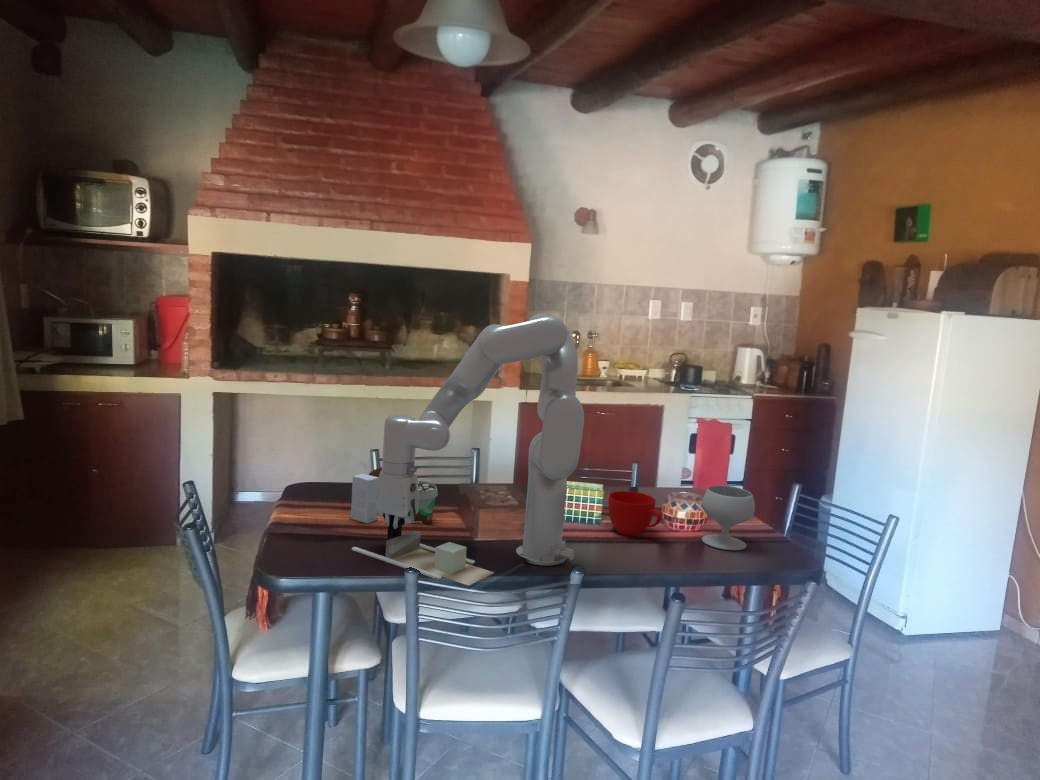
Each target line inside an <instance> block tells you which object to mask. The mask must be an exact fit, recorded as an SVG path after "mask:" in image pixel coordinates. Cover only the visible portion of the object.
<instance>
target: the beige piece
mask: <svg viewBox="0 0 1040 780" xmlns="http://www.w3.org/2000/svg"><path fill="white" fill-rule="evenodd" d="M421 534H422V533H421V532H420V531H416V530H413V531H409V532H407V533H404V534H401V536H398V537H395V538H392V539H390V540H387V539H386V542H385V556H384V557H387V558H390V559H393V560H396V561H399V562H402V563H404V564H407V565H410V566H413V567H416V568H419V569H422V570H425V571H428V572H431V573H434V574H437V575H440V576H442V578H445V579H448V580H451V581H454V582H456V583H460V584H462V585H466V586H468V587H469V586H471V585H473V584H475V583H477V582H479V581H481V580H482V579H485V578H487V577H490V576H492V575H493V574H495V572H494V571H490V570H487V569H486V568H485V569H484V568H482V567H479V566H476V565H473V564H470V563H467V562H466V563H465V568H464V569H462V570H460V571H458V572H456V573H454V574H450V573H447V572H444V571H441V570H438V569H435V568H434V565H435V552H433V551H430V550H426V549H423V548H420V544H421ZM491 579H494V576H492V577H490V578H487V579H486V580H484V581H482V582H480V583H478V584H477V585H474V586H472V587H471V589H473V588H476V587H477V586H480V585H481V584H483V583H485V582H487V581H489V580H491Z"/></svg>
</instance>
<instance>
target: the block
mask: <svg viewBox="0 0 1040 780" xmlns="http://www.w3.org/2000/svg"><path fill="white" fill-rule="evenodd" d="M435 548H436V550H435V552H434V553H435V565H434V568H435V569H438V570H441V571H444V572H447V573H450V574H454V573H456V572H458V571H460V570H462V569H464V568H465V563H466V564H467V562H466V558H467V549H468V547H467V546H464V545H460V544H457V543H454V542H451V541H448V542H445V543H443V544H440V545H438V546H435Z"/></svg>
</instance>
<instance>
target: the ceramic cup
mask: <svg viewBox="0 0 1040 780" xmlns="http://www.w3.org/2000/svg"><path fill="white" fill-rule="evenodd" d="M656 502H657V501H656V499H655V498H654V497H653V496H651V495H649V494H645V493H642V492H637V491H632V490H631V491H627V490H624V491H623V490H621V491H620V490H618V491H613V492H610V493H609V495H608V504H607V505H608V506H607V507H608V508H607V509H608V515H609V519H610V522H611V524H612V526H613V527H614V528H615V530H616V532H617V533H618V534H620V535H624V536H632V537H635V536H636V537H637V536H640V535H641V534H642V533H643V532H644V531H646V529H647V528H653V527H657V525H659V524H660V522H661V520H662V515H661V512H660V511H659V510H658V509H655V508H656ZM654 513H655V515H656V521H655V522H654V523H651V522H652V519H653V517H654Z"/></svg>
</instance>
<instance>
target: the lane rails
mask: <svg viewBox="0 0 1040 780" xmlns="http://www.w3.org/2000/svg"><path fill="white" fill-rule="evenodd" d="M420 549H423V550H426V551H429V552H432V553H435V550H436V547H433V546H430V545H426V544H424V543H420ZM351 551H354V552H357V553H359V554H363V555H366V556H368V557H370V558H374V559H377V560H380V561H383V562H386V563H389V564H392V565H394V566H397V567H400V568H403V569H406V568H409V567H412V568H415V569H417V570H419V571H420V573H421V575H424V576H427V577H429V578H432V579H435V578H438V579H437V580H440V579H442V578H443V577H442V576H440V575H437V574H434V573H431V572H428V571H425V570H422V569H419V568H416V567H413V566H410V565H407V564H404V563H402V562H399V561H396V560H393V559H390V558H387V557H385V556H384V555H381V554H377V553H375V552H372V551H369V550H366V549H362V548H360V547H356V546H353V547H351ZM475 563H476V561H475V560H473V559H470V558H469V557H468V558H467V557H466V564H469V565H473V564H475ZM420 573H419V574H420Z"/></svg>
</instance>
